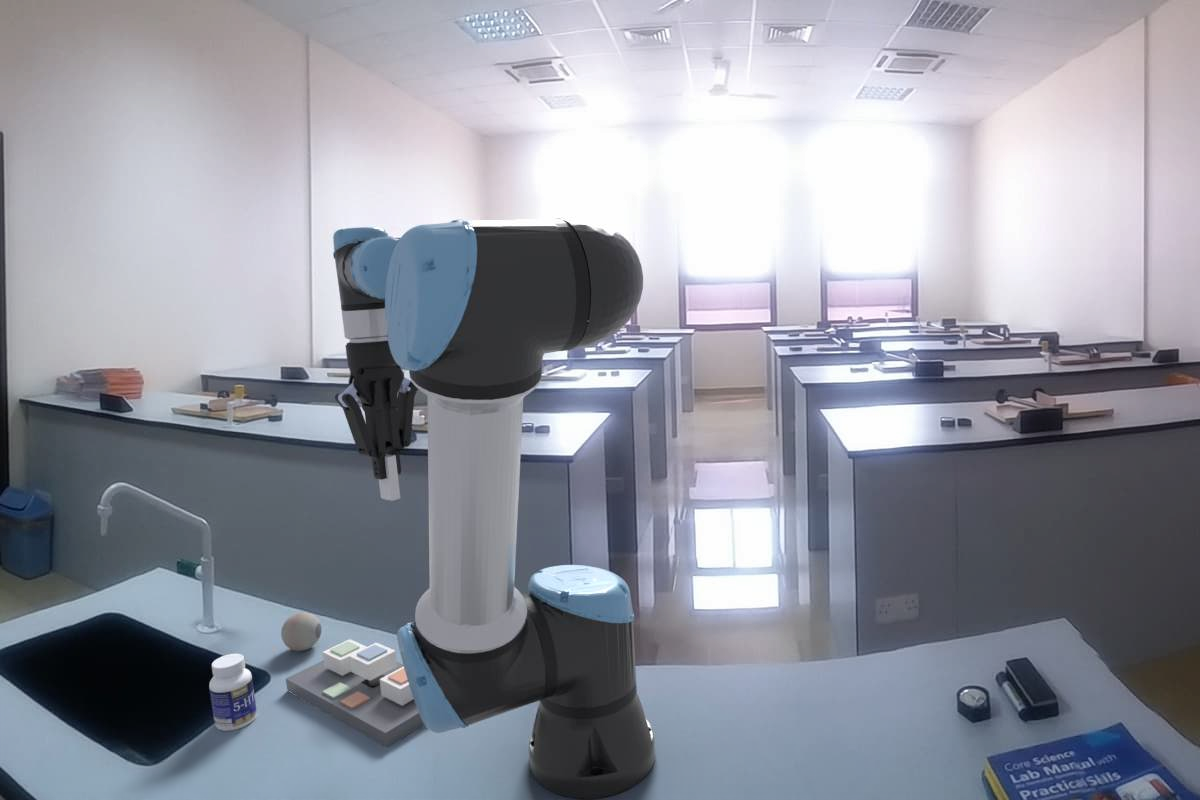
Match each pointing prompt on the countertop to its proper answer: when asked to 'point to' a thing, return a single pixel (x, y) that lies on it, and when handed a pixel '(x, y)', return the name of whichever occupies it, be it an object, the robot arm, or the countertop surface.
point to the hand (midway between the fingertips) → (390, 498)
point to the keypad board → (356, 703)
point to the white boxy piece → (373, 662)
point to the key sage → (341, 656)
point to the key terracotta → (396, 687)
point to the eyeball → (301, 631)
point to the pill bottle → (232, 693)
